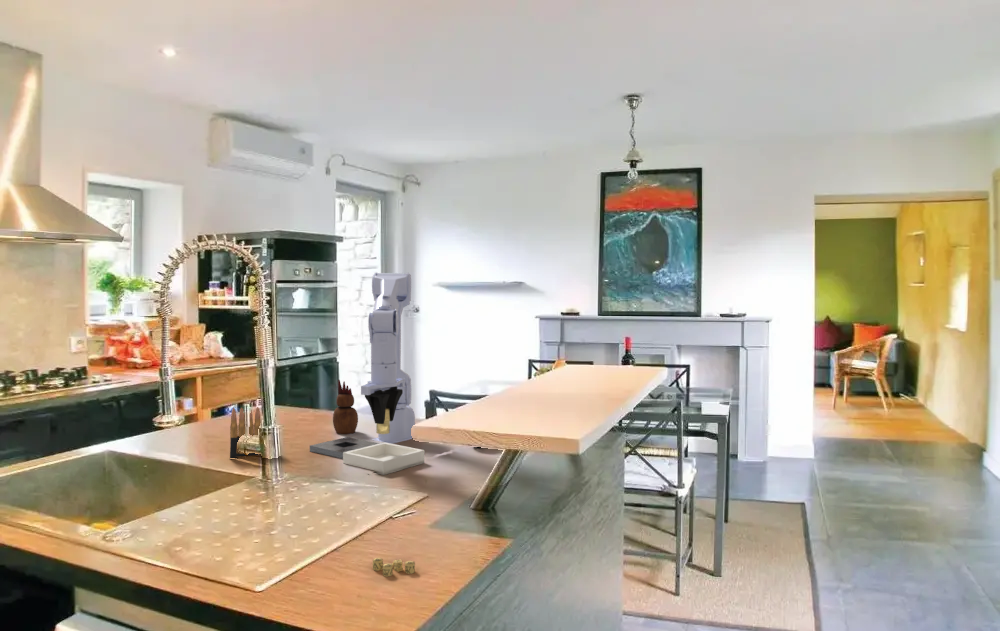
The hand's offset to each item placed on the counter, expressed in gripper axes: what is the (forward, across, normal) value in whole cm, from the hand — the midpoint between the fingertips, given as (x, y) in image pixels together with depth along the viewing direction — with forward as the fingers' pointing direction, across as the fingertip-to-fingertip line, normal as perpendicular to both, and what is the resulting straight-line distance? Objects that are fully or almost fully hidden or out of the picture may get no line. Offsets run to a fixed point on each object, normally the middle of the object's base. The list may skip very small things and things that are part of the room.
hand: (383, 422), depth 163 cm
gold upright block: (+2, 0, 0) cm, 3 cm away
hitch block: (+10, -5, -15) cm, 18 cm away
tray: (+10, 0, 0) cm, 10 cm away
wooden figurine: (+10, -22, -28) cm, 37 cm away
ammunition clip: (+10, +8, -32) cm, 34 cm away
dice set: (+11, +49, +36) cm, 61 cm away
